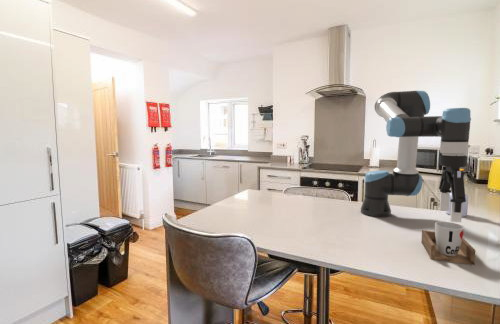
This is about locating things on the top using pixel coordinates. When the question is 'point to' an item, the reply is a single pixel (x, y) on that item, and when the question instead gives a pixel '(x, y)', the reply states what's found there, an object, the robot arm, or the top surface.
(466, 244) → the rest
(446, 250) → the cup
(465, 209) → the soap bottle
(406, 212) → the top surface
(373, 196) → the robot arm
